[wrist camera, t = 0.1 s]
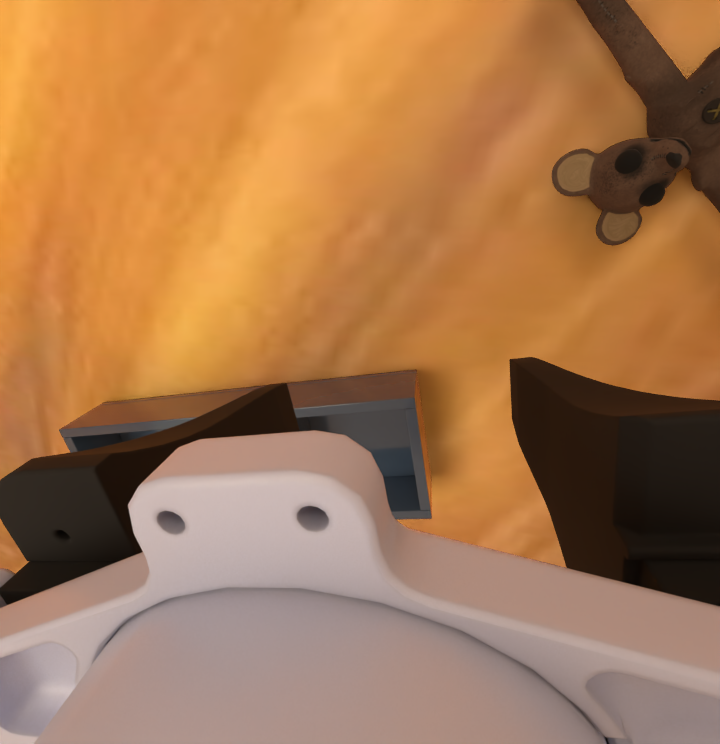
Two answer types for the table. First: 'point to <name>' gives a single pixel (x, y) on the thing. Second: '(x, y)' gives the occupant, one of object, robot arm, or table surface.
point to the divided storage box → (300, 425)
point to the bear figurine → (664, 127)
